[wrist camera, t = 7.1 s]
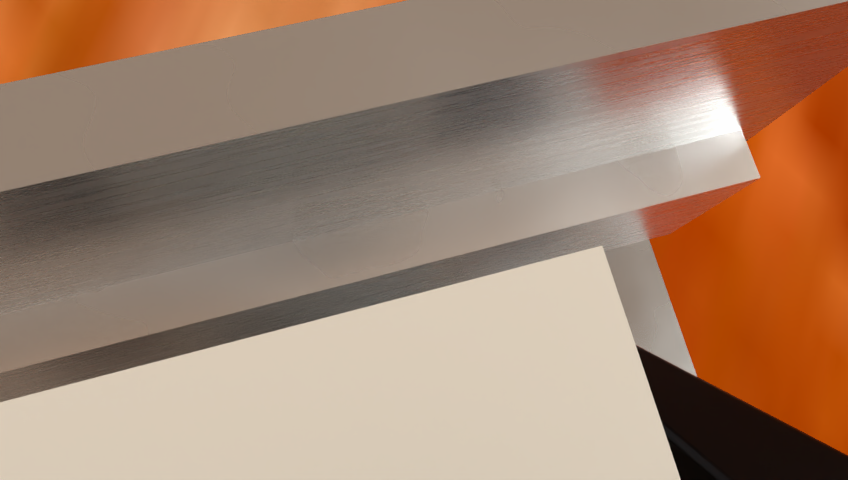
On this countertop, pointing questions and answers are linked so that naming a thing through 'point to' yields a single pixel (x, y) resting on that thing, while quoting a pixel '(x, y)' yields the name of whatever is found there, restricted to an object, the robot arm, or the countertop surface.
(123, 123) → the rail mount
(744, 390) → the countertop surface
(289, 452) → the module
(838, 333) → the countertop surface
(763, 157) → the countertop surface
